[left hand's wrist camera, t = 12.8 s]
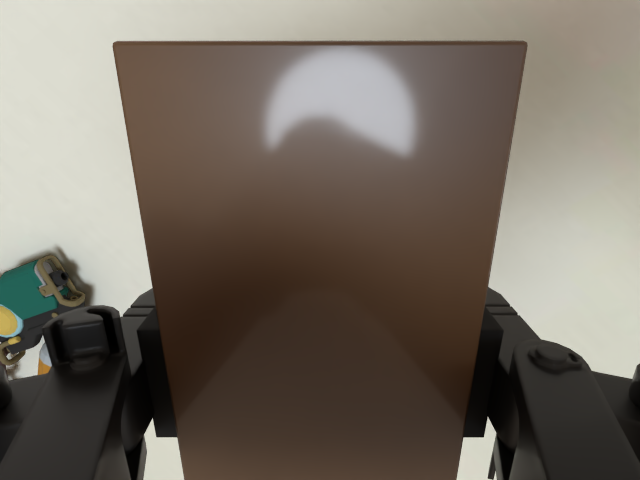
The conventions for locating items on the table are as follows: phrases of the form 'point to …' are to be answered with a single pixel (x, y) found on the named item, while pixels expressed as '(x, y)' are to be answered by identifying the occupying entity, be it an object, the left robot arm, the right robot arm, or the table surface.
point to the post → (320, 245)
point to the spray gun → (32, 307)
